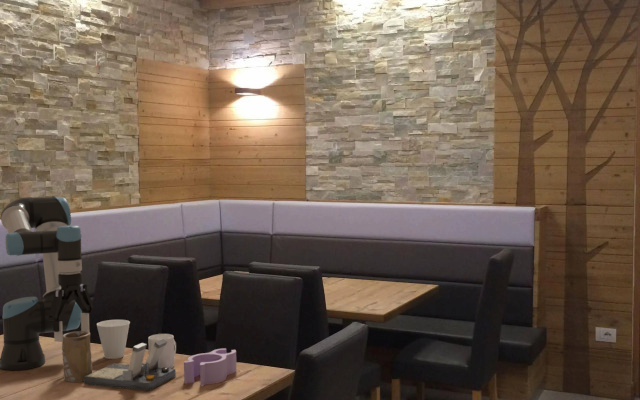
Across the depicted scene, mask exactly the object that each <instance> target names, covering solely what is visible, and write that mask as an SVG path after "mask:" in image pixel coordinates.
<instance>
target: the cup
mask: <svg viewBox="0 0 640 400" xmlns="http://www.w3.org/2000/svg"><path fill="white" fill-rule="evenodd" d="M130 324H131V321H129V320H128V319H127V320H126V319H109V320H108V319H107V320H102V321H100V322H97V323H96V327H97V331H98V335H99V339H100V344H101V348H102V352H103V357H104V358H105V359H108V360H113V359H114V360H115V359H121V358H123V357H124V356H125V351H126V346H127V339H128V335H129V334H128V333H129V328H130Z"/></svg>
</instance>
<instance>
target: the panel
mask: <svg viewBox="0 0 640 400" xmlns="http://www.w3.org/2000/svg"><path fill="white" fill-rule="evenodd" d="M158 367H159V359H158V361H157V363H156V366H155V367H153V368H151V369H149V365H148V363H145V362H143V363H142V367H141V373H140V374H139V375H137V376H135V377H133V371H130V370H128V369H129V364H125V363H124V364H123V363H111V364H109V365H107V366H104V367H103V368H100V369H98V370H96V371H94V372H93V371H92V373H91V374H89V375H86V376H84V381H83V383H84V385H86V386H87V385H88V386H97V387H107V388H109V387H110V388H117V389H128V390H135V391H136V390H138V391H143V392H144V391H146V392H149V391H152V390H153V389H155V388H157V387H159V386H161V385H162V384H164V383H167V382H168V381H170V380H172V379H174V378H176V368H171V369H169V367H163V368H158Z"/></svg>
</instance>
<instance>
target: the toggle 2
mask: <svg viewBox="0 0 640 400" xmlns="http://www.w3.org/2000/svg"><path fill="white" fill-rule="evenodd" d="M166 343H167V341H166V340H164V339H162V340H160V341H158V342H155V344H154V346H153V348H152V350H151V352H150V354H149V353H148V356H147V358H146V360H145V362H144V363H148V365H149V369H151V368H153V367H155V366H156V363H157V361H158V359H159V357H160V355H161V353H162V351H163V349H164V347H165V345H166Z"/></svg>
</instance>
